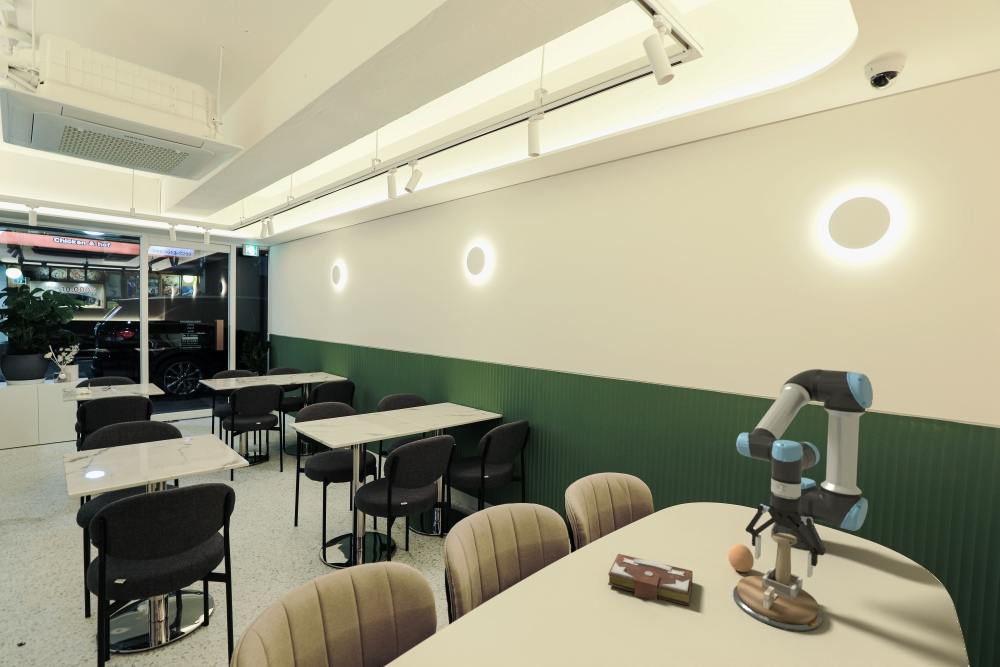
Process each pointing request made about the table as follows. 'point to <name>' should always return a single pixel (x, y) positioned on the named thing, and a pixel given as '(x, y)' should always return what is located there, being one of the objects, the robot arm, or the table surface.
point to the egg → (741, 558)
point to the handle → (783, 557)
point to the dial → (778, 598)
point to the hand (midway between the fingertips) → (782, 566)
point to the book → (651, 579)
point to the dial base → (777, 624)
